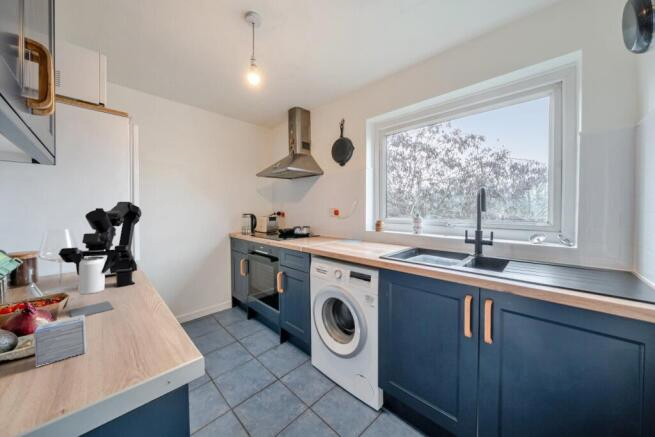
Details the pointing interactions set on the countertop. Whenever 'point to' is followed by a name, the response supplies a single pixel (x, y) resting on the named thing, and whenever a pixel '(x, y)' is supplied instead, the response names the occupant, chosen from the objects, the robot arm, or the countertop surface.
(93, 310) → the mat
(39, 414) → the countertop surface
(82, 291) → the can
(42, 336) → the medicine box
